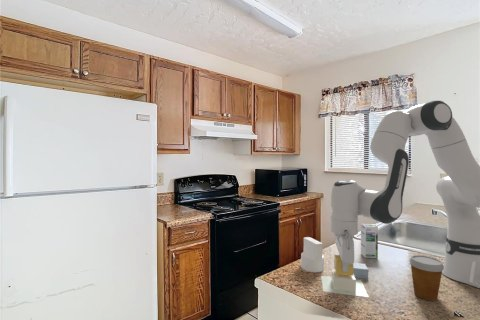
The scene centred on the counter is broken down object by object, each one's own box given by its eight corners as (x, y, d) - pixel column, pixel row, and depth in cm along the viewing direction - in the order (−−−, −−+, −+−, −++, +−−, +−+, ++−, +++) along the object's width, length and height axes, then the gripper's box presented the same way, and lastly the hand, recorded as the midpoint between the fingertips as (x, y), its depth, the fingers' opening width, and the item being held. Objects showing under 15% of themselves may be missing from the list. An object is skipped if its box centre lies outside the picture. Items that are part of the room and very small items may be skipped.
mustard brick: (350, 268, 94) (350, 256, 94) (353, 275, 89) (353, 262, 89) (334, 267, 96) (334, 254, 96) (335, 273, 90) (336, 260, 90)
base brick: (352, 282, 95) (352, 271, 95) (355, 291, 88) (356, 279, 88) (331, 279, 97) (331, 268, 97) (333, 289, 90) (333, 277, 90)
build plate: (361, 283, 97) (361, 280, 97) (368, 300, 85) (369, 297, 85) (321, 278, 100) (321, 275, 100) (323, 294, 88) (323, 291, 88)
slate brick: (364, 275, 104) (365, 263, 103) (368, 281, 98) (368, 269, 98) (349, 273, 105) (349, 262, 105) (352, 279, 100) (352, 267, 99)
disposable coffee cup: (442, 307, 82) (443, 268, 81) (406, 296, 88) (407, 260, 88) (444, 295, 89) (445, 259, 89) (410, 285, 95) (411, 252, 95)
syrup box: (364, 258, 121) (365, 226, 121) (360, 253, 127) (360, 223, 127) (377, 258, 120) (378, 226, 120) (372, 254, 126) (373, 223, 126)
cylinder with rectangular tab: (296, 267, 110) (297, 238, 110) (314, 264, 113) (315, 236, 113) (309, 276, 102) (309, 245, 102) (328, 273, 105) (329, 242, 105)
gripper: (360, 236, 81) (359, 281, 82) (349, 220, 101) (348, 257, 101) (338, 234, 83) (337, 278, 83) (331, 219, 103) (331, 255, 103)
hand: (343, 266), depth 92 cm, fingers closed on mustard brick, 5 cm apart
